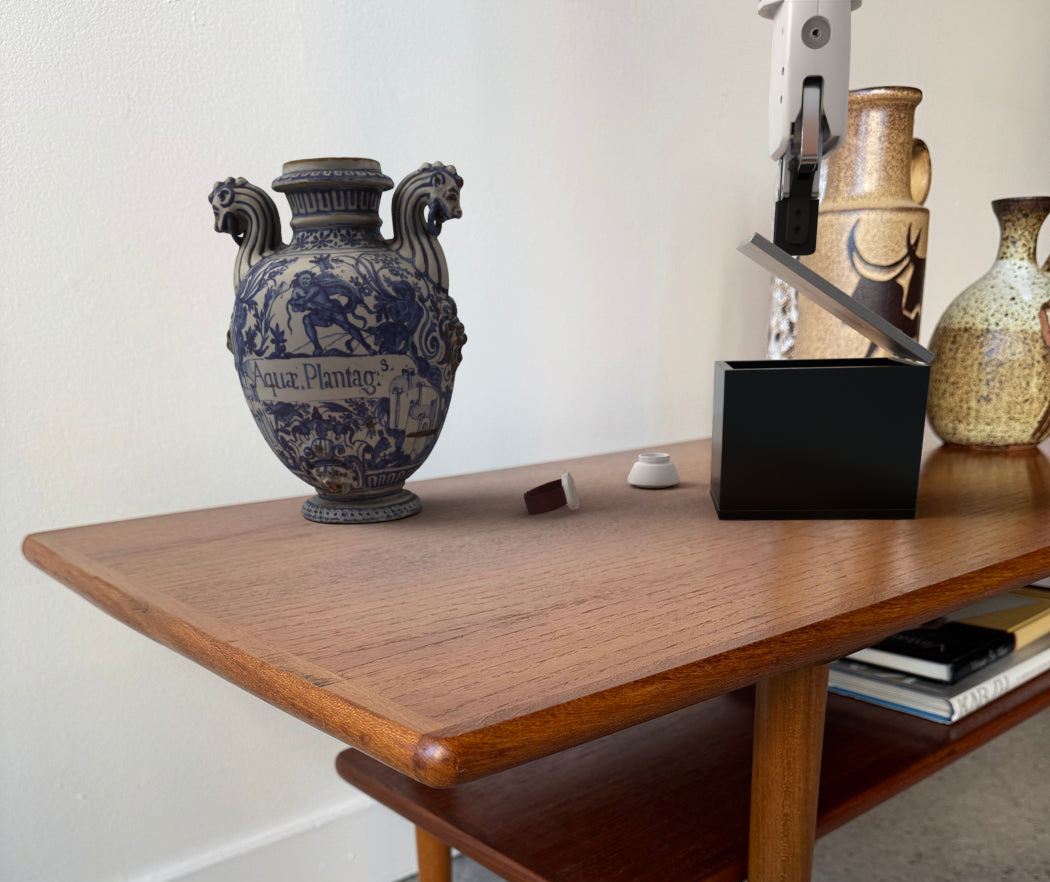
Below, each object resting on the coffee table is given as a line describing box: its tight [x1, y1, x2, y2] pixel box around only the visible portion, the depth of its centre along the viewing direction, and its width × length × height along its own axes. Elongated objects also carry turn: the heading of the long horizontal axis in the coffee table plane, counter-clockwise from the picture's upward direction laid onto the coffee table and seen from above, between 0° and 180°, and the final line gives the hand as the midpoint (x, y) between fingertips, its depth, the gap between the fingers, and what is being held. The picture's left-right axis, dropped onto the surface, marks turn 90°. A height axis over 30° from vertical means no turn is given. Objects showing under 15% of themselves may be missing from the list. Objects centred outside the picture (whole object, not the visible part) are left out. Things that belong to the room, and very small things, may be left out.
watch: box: [523, 469, 579, 516], centre depth 91 cm, size 8×5×4 cm, turn 168°
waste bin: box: [709, 356, 932, 521], centre depth 88 cm, size 16×13×12 cm
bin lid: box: [736, 231, 936, 365], centre depth 85 cm, size 17×13×1 cm
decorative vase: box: [207, 156, 468, 524], centre depth 88 cm, size 21×19×28 cm
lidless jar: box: [627, 452, 680, 489], centre depth 102 cm, size 5×3×5 cm
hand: (793, 254), depth 84 cm, fingers closed
